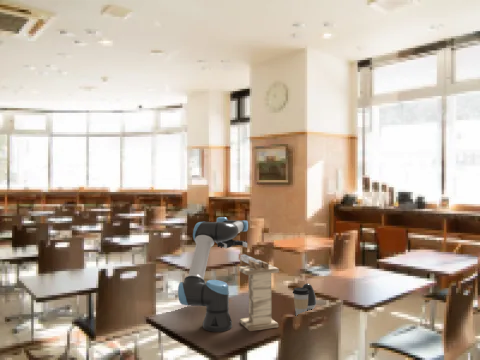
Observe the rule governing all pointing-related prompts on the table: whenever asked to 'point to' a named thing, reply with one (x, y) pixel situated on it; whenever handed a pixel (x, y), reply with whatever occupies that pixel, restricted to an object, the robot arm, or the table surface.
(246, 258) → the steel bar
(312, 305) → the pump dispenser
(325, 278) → the table surface
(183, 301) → the robot arm
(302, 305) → the coffee cup
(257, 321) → the birch stand
